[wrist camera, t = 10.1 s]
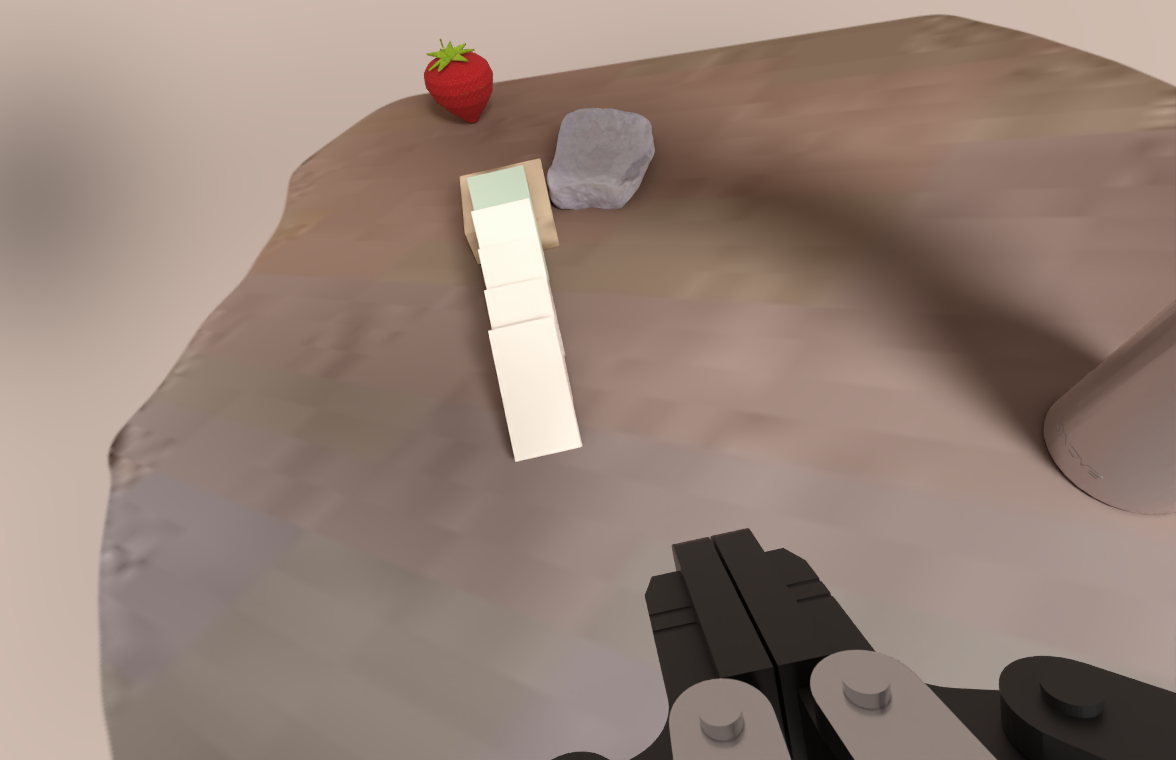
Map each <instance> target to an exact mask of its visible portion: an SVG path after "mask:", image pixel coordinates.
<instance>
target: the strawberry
mask: <svg viewBox="0 0 1176 760" xmlns="http://www.w3.org/2000/svg"><path fill="white" fill-rule="evenodd" d="M440 41H441V39H440ZM441 45H442V47H443V44H442V41H441ZM465 45H466V44H462V45H460V46H457V47H454V48H453V47H452V44H451V42H449V44H448V46H447V48H446V49H444V47H443V49H444V50H443V49H440V51H439V52H433V53H427V55H429V56H433V57H437V58H435V59H434V60H432V61H431V62H430V63H429V64H428V66H427V68H426V70H425V72H424V79H425V85H426V88H427V90H428V91H429V92H430V94H431V95H432V96H433V98H434V99H435V101H436V102H437V103H438V104H440V105H441V106H442V107H444V108H445V109H447V110H448V111H449V112H451V113H452V114H454V115H456V116H458V117H460V118H462V119H463V120H465V121H466V122H468V123H475V122H476V121H478V119H479V117H480V115H481V113H482V111H483V110H484V108H485V107H486V104H487V102H488V100H489V97H490V95H491V93H492V85H493V72H492V70H491V68H490V66H489V64H488V62H487V61H486V60H485V59H484V58H482V57H481V56H479V55H477V54H476V53H473V52H472V51H474V49H464V50H463V48H464V46H465Z"/></svg>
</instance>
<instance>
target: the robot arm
mask: <svg viewBox="0 0 1176 760" xmlns="http://www.w3.org/2000/svg"><path fill="white" fill-rule="evenodd" d="M1044 438H1045V442H1046V445H1047V449H1048V451H1049V453H1050V454H1051V456H1052V458H1053V460H1054V462H1055V463H1056V464H1057V466H1058V467H1059V468H1060V469H1061V471H1062V472H1063V473H1064V474H1065V476H1067V477H1068V478H1069V479H1070V480H1071V481H1072V482H1073V483H1074V484H1075V485H1077V486H1078V487H1079V488H1080V489H1082V490H1083V491H1085V492H1086V493H1088V494H1089V495H1091V496H1092V497H1094V498H1096V499H1098V500H1100V501H1102V502H1104V503H1106V504H1108V505H1110V506H1113V507H1116V508H1119V509H1122V510H1125V511H1129V512H1134V513H1140V514H1147V515H1156V514H1169V513H1173V512H1176V300H1175V301H1174V302H1173V303H1172V304H1170V305H1169V306H1168V307H1167V308H1166V309H1164V310H1163V311H1162V312H1161V313H1160V314H1159V315H1157V316H1156V317H1155V318H1154V319H1153V320H1151V321H1150V322H1149V323H1148V324H1147V325H1145V326H1144V327H1143V328H1142V329H1141V330H1140V331H1138V332H1137V333H1136V334H1135V335H1134V336H1132V337H1131V338H1130V339H1129V340H1128V341H1127V342H1125V343H1124V344H1123V345H1122V346H1121V347H1119V348H1118V349H1117V350H1116V351H1115V352H1114V353H1112V354H1111V355H1110V356H1109V357H1108V358H1106V359H1105V360H1104V361H1103V362H1102V363H1101V364H1099V365H1098V366H1097V367H1096V368H1095V369H1093V370H1092V371H1091V372H1090V373H1088V374H1087V375H1086V376H1085V377H1084V378H1083V379H1081V380H1080V381H1079V382H1078V383H1077V384H1076V385H1074V386H1073V387H1072V388H1071V389H1070V390H1069V391H1067V392H1066V393H1065V394H1064V395H1063V396H1062V397H1060V398H1059V399H1058V400H1057V401H1056V402H1055V403H1053V405H1052V406H1051V408H1050V409H1049V411H1048V412H1047V414H1046V418H1045V421H1044ZM672 550H673V556H674V561H675V566H676V572H671V573H667V574H662V575H658V576H653V577H652V578H651V580H650V583H649V586H648V588H647V591H646V594H645V599H646V603H647V608H648V612H649V617H650V621H651V626H652V630H653V635H654V639H655V644H656V648H657V653H658V657H659V662H660V666H661V671H662V675H663V680H664V684H665V688H666V693H667V697H668V702H669V714H668V718H667V722H666V724H665V726H664V729H663V731H662V732H661V734H660V735H659V737H658V738H657V739H656V740H655V741H654V743H653V744H652V745H651V746H649V747H648V748H647V749H646V750H645V751H643V752H642V753H640V754H639V755H637V756H636V757H634V758H632V759H630V760H1176V693H1174V692H1171V691H1168V690H1165V689H1162V688H1159V687H1156V686H1153V685H1150V684H1147V683H1144V682H1141V681H1138V680H1135V679H1132V678H1128V677H1125V676H1122V675H1119V674H1116V673H1113V672H1110V671H1107V670H1104V669H1101V668H1098V667H1095V666H1092V665H1089V664H1086V663H1082V662H1079V661H1075V660H1071V659H1066V658H1061V657H1052V656H1034V657H1026V658H1022V659H1019V660H1016V661H1014V662H1012V663H1010V664H1009V665H1008V666H1006V667H1005V668H1004V670H1003V671H1002V672H1001V675H1000V678H999V690H980V689H961V688H947V687H940V686H935V685H930V684H926V683H924V682H923V681H922V680H921V679H920V678H919V677H918V675H917V674H916V673H915V672H913V671H912V670H911V669H910V668H909V667H908V666H906V665H905V664H903V663H902V662H900V661H898V660H896V659H894V658H892V657H890V656H887V655H885V654H881V653H877V652H875V651H874V649H873V648H872V647H871V645H870V644H869V643H868V641H867V640H866V639H865V637H864V636H863V635H862V634H861V632H860V631H859V630H858V628H857V627H856V626H855V624H854V623H853V622H852V620H851V619H850V618H849V616H848V615H847V614H846V613H845V611H844V610H843V609H842V607H841V606H840V605H839V603H838V602H837V601H836V599H835V598H834V597H833V596H831V594H830V592H829V590H828V589H827V588H826V586H825V585H824V584H823V582H822V581H821V582H820V580H819V577H818V576H817V575H816V573H815V572H814V571H813V569H812V568H811V567H810V565H809V564H808V563H807V562H806V560H804V559H802V558H800V557H799V556H797V555H795V554H793V553H791V552H790V551H788V550H786V549H784V548H781V549H777V550H772V551H767V552H764V550H763V549H762V547H761V546H760V544H759V543H758V541H757V540H756V538H755V537H754V535H753V534H752V532H751V531H750V529H749V528H746V529H741V530H737V531H732V532H728V533H723V534H718V535H714V536H711V540H710V538H709V537H705V538H701V539H696V540H692V541H687V542H682V543H678V544H673V545H672ZM552 760H609V759H607V758H605V757H603V756H601V755H599V754H596V753H591V752H573V753H567V754H564V755H561V756H558V757H556V758H554V759H552Z"/></svg>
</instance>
